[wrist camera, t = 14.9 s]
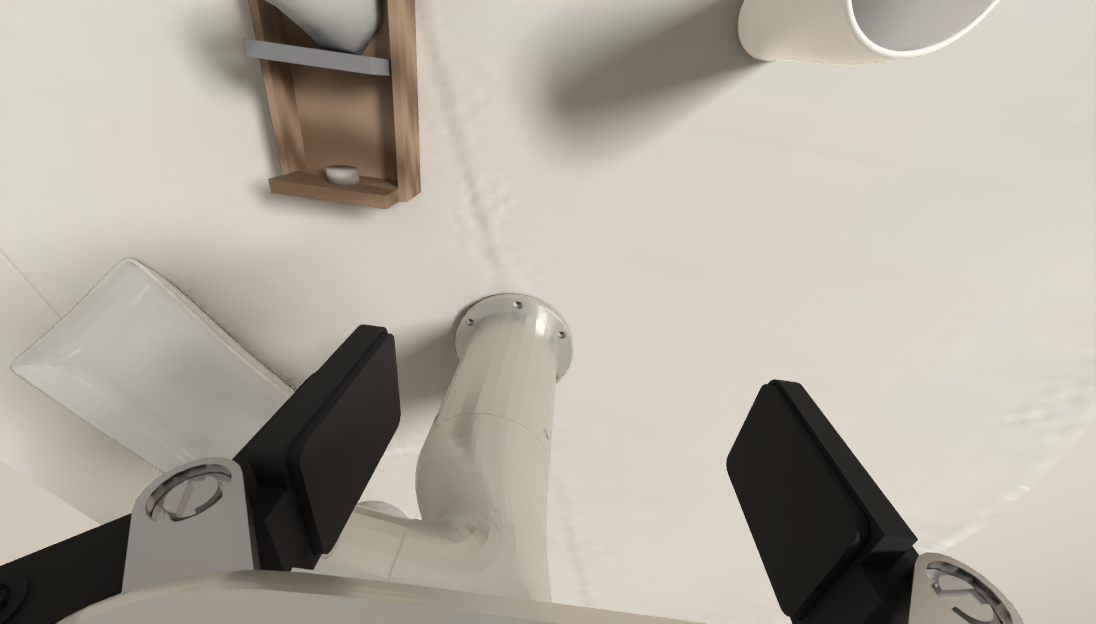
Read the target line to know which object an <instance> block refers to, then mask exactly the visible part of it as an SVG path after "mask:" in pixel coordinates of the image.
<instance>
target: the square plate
mask: <svg viewBox="0 0 1096 624" xmlns="http://www.w3.org/2000/svg"><path fill="white" fill-rule="evenodd" d="M10 369H11V370H12V371H13V372H14V373H15V374H16V375H17V376H19V377H20V378H22V379H23V380H25V381H26V382H28V383H29V384H31V385H33V386H34V387H35V388H37V389H38V390H40V391H41V392H43V393H44V394H46V395H47V396H49V397H50V398H52V399H53V400H55V401H56V402H57V403H59V404H60V405H62V406H63V407H65V408H66V409H68V410H69V411H70V412H72V413H73V414H75V415H76V416H78V417H79V418H81V419H82V420H83V421H85V422H86V423H88V424H89V425H91V426H92V427H94V428H96V429H97V430H99V431H100V432H102V433H103V434H105V435H106V436H108V437H109V438H111V439H113V440H114V441H116V442H117V443H119V444H120V445H121V446H123V447H125V448H126V449H128V450H129V451H131V452H132V453H134V454H136V455H137V456H139V457H140V458H142V459H143V460H145V461H147V462H148V463H150V464H151V465H153V466H154V467H156V468H158V469H159V470H161V471H162V472H164V473H167V472H169V471H170V470H172V469H174V468H176V467H178V466H181V465H183V464H186V463H188V462H190V461H195V460H199V459H203V458H211V457H222V458H227V459H231V460H232V459H233V458H234V457H235V456H236V455H237V453H238V452H239V451H240V450H241V449H242V448H243V447H244V446H245V445H246V444H247V443H248V442H249V441H250V440H251V438H252V437H253V436H254V435H255V434H256V433H257V432H258V431H259V430H260V429H261V428H262V427H263V426H264V425H265V423H266V422H267V421H268V420H269V419H270V418H271V417H272V416H273V415H274V414H275V413H276V412H277V411H278V410H279V408H280V407H281V406H282V405H283V404H284V403H285V402H286V401H287V400H288V399H289V398H290V397H291V396H292V395H293V394H294V392H295V391H294V390H293V389H292V388H290V387H289V386H288V385H287V384H285V383H284V382H283V381H282V380H281V379H279V378H278V377H277V376H276V375H274V374H273V373H272V372H271V371H270V370H268V369H267V368H266V367H265V366H264V365H262V364H261V363H260V362H259V361H258V360H256V359H255V358H254V357H253V356H252V355H250V354H249V353H248V352H247V351H246V350H245V349H244V348H243V347H241V346H240V345H239V344H238V343H237V342H236V341H235V340H234V339H233V338H231V337H230V336H229V335H228V334H227V333H226V332H225V331H224V330H223V329H221V328H220V327H219V326H218V325H217V324H216V323H215V322H214V321H213V320H212V319H211V318H209V317H208V316H207V315H206V314H205V313H204V312H203V311H202V310H201V309H200V308H199V307H198V306H196V305H195V304H194V303H193V302H192V301H191V300H190V299H189V298H188V297H186V296H185V295H184V294H183V293H182V292H180V291H179V290H178V289H177V288H176V287H174V286H173V285H172V284H171V283H170V282H168V281H167V280H166V279H164V278H163V277H162V276H160V275H159V274H158V273H156V272H155V271H153V270H152V269H150V268H148V267H146V266H144V265H142V264H140V263H139V262H138V261H136V260H134V259H132V258H125V259H123V260H121V261H120V262H119V263H118V264H117V265H115V266H114V267H113V268H112V269H111V270H110V271H109V272H108V273H107V274H106V275H105V276H104V277H103V278H102V279H101V280H100V281H99V282H98V283H97V284H96V285H95V286H94V287H93V288H92V289H91V290H90V291H89V292H88V293H87V294H86V296H85V297H84V298H83V299H82V300H81V301H80V302H79V303H77V304H76V305H75V306H74V307H73V308H72V310H71V311H70V312H69V313H67V314H66V315H65V316H64V317H63V318H62V319H61V320H60V321H59V322H58V323H57V324H56V325H55V326H54V327H53V328H51V329H50V330H49V331H48V332H47V333H46V334H45V335H44V336H42V337H41V338H40V339H39V340H38V341H36V342H35V343H34V344H33V345H32V346H31V347H29V348H28V349H27V350H26V351H25V352H24V353H22V354H21V355H20V356H19V357H18V358H17V359H16V360H15V361H14V362H13V363H12V364H11V366H10Z"/></svg>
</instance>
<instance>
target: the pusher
mask: <svg viewBox="0 0 1096 624" xmlns="http://www.w3.org/2000/svg"><path fill="white" fill-rule="evenodd" d="M243 41H244V45H245V50H246V55H247V57H253V58H260V59H267V60H274V61H281V62H288V63H295V64H302V65H309V66H316V67H323V68H330V69H337V70H344V71H351V72H358V73H365V74H372V75H387V76H392V71H391V60H388V59H381V58H375V57H368V56H361V55H354V54H347V53H340V52H333V51H326V50H319V49H312V48H305V47H298V46H291V45H284V44H277V43H270V42H263V41H256V40H249V39H243Z"/></svg>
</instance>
